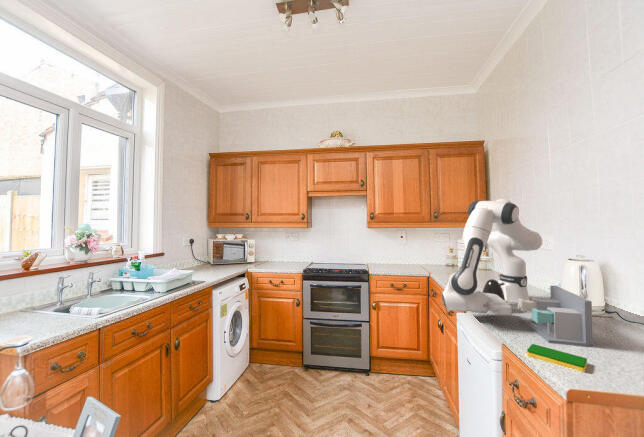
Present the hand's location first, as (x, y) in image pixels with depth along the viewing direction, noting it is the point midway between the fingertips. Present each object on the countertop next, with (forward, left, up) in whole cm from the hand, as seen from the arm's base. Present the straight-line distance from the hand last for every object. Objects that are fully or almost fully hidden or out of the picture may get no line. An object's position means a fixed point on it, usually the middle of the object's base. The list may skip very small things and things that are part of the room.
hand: (516, 304), depth 119 cm
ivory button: (+3, +5, -2) cm, 6 cm away
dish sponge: (+28, -17, -9) cm, 34 cm away
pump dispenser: (-18, +5, -8) cm, 20 cm away
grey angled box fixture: (+11, +5, -8) cm, 15 cm away
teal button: (+15, -2, -2) cm, 15 cm away
